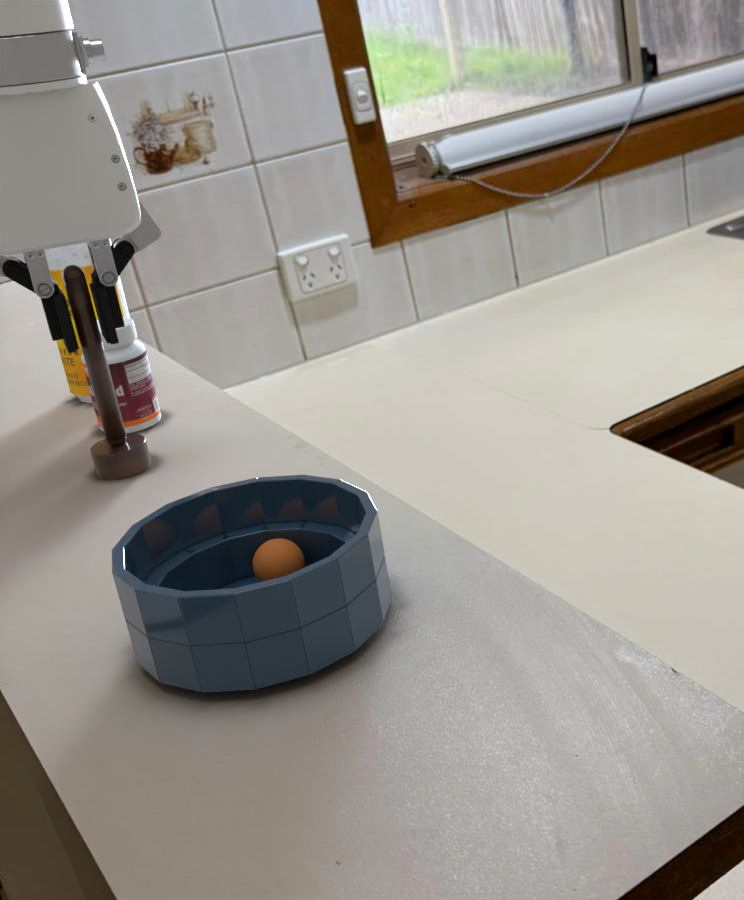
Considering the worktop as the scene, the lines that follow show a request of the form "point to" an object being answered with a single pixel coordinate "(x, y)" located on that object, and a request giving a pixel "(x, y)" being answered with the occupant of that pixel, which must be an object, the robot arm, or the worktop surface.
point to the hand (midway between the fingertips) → (91, 341)
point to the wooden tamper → (103, 390)
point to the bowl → (252, 583)
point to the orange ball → (277, 559)
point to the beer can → (57, 263)
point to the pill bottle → (129, 380)
